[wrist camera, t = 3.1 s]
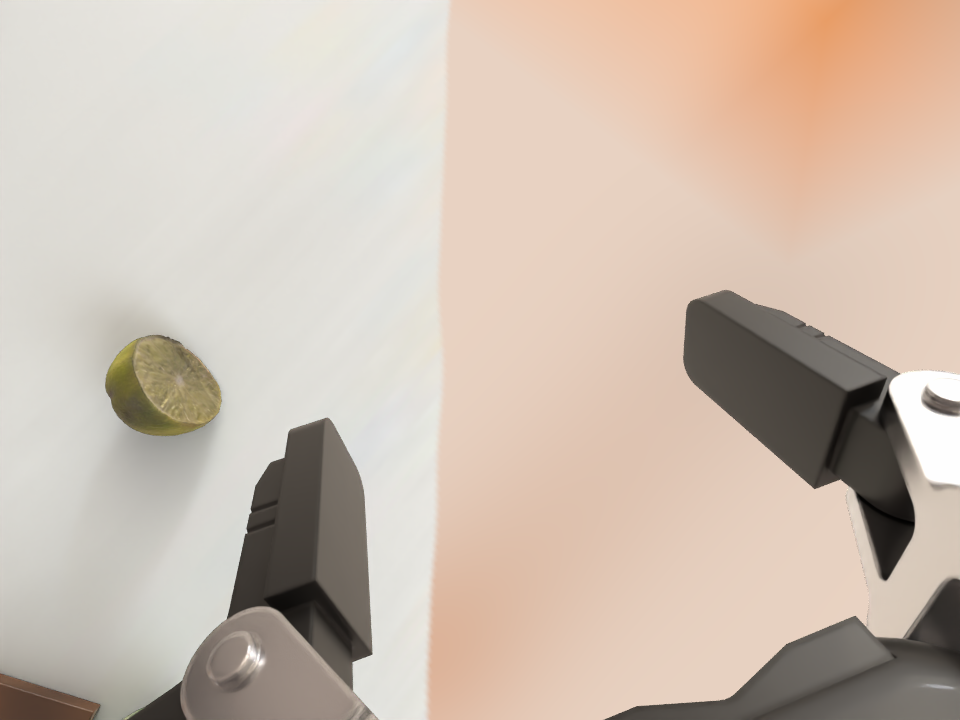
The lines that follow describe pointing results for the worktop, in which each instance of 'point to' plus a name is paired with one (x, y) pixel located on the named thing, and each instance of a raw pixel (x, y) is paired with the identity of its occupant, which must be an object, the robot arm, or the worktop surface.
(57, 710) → the board
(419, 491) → the worktop surface
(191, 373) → the lime
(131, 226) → the worktop surface
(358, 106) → the worktop surface
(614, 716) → the robot arm
